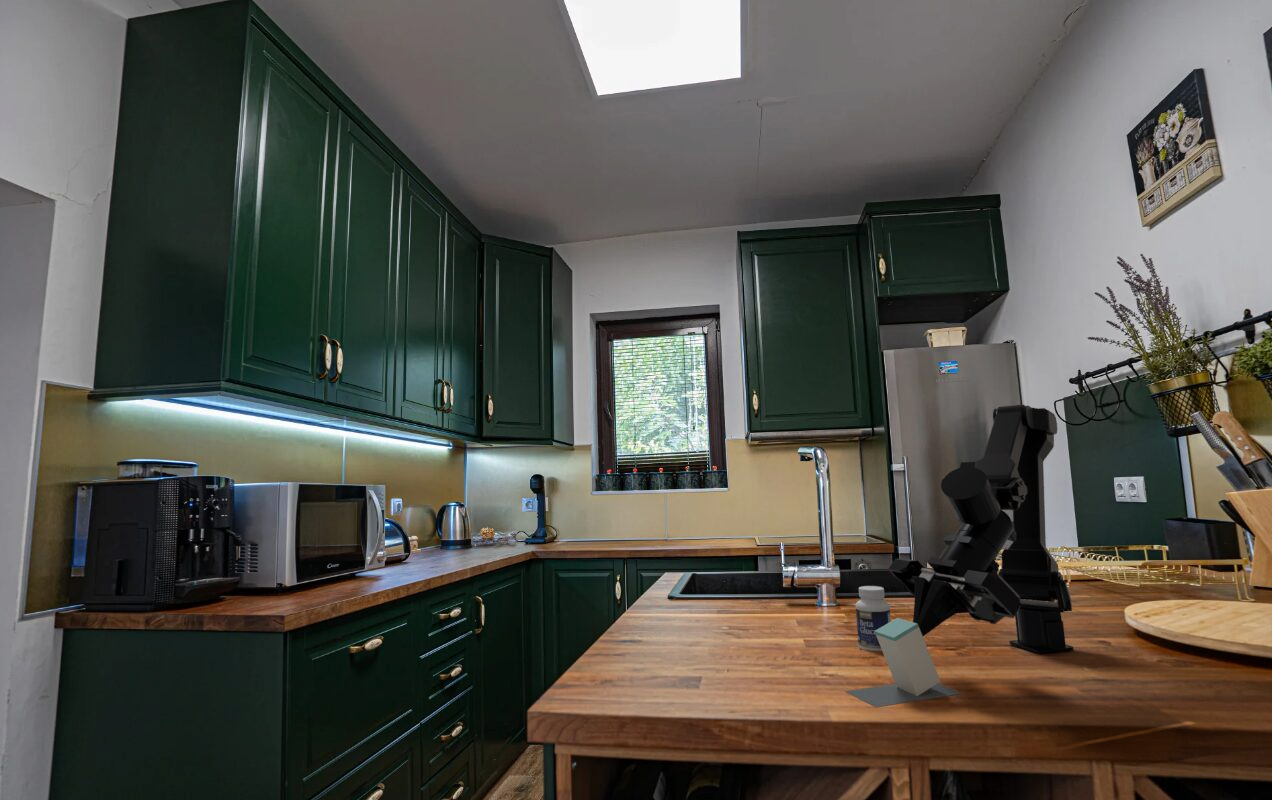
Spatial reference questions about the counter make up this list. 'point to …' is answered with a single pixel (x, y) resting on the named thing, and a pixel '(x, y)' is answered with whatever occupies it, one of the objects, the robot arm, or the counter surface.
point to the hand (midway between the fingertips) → (916, 635)
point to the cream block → (907, 656)
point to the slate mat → (898, 694)
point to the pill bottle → (871, 616)
